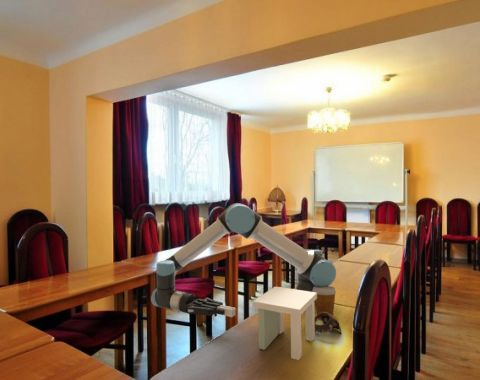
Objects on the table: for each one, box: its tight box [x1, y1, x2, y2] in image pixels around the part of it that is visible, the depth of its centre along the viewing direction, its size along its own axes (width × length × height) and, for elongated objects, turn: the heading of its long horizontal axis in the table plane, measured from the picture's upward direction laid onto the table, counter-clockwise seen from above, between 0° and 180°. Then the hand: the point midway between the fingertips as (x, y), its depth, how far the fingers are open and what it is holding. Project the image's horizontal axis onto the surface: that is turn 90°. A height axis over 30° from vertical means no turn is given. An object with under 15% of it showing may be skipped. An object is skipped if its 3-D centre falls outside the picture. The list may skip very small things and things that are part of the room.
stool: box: [252, 286, 317, 361], centre depth 110 cm, size 18×16×16 cm
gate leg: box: [257, 308, 279, 350], centre depth 112 cm, size 13×2×13 cm, turn 152°
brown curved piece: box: [315, 311, 342, 335], centre depth 120 cm, size 12×10×8 cm
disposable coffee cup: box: [312, 285, 337, 320], centre depth 133 cm, size 10×10×12 cm
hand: (233, 312), depth 120 cm, fingers closed
